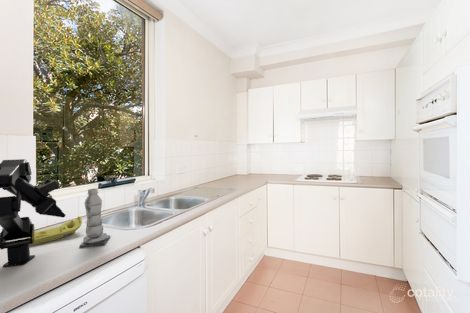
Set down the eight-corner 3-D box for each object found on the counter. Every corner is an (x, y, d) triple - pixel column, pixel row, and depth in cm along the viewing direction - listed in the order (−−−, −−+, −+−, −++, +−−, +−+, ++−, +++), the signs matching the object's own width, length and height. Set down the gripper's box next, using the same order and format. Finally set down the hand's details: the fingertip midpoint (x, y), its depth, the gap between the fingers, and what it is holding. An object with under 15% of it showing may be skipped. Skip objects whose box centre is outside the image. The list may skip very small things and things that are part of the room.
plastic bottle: (102, 232, 106) (100, 187, 105) (104, 237, 100) (102, 189, 99) (85, 235, 102) (83, 189, 101) (86, 240, 96) (83, 191, 96)
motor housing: (104, 245, 98) (104, 239, 98) (79, 248, 96) (79, 241, 96) (110, 237, 107) (109, 231, 107) (87, 239, 104) (87, 233, 104)
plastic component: (26, 241, 97) (26, 225, 104) (29, 254, 101) (29, 238, 107) (83, 227, 109) (80, 213, 116) (84, 239, 113) (81, 225, 119)
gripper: (46, 175, 85) (83, 201, 93) (41, 172, 99) (74, 194, 107) (17, 201, 80) (59, 226, 88) (16, 193, 94) (53, 215, 102)
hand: (62, 213), depth 96 cm, fingers open, 9 cm apart
